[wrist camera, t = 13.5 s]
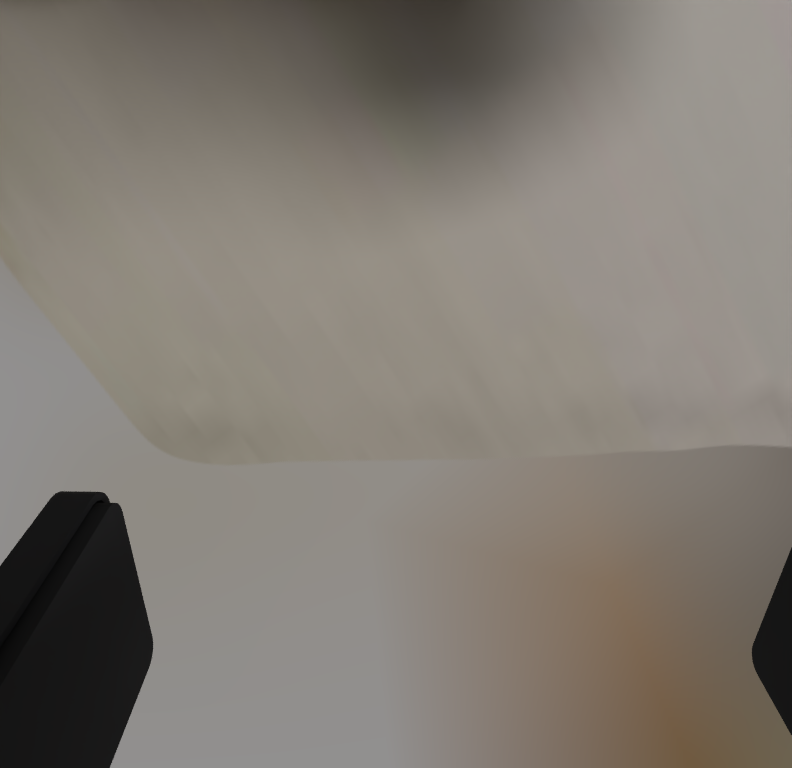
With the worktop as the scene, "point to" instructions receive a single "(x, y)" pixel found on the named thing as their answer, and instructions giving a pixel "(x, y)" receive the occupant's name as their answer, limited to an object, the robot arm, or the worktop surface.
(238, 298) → the worktop surface
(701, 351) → the worktop surface
